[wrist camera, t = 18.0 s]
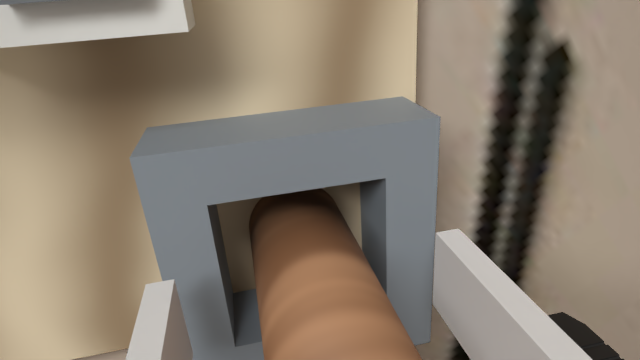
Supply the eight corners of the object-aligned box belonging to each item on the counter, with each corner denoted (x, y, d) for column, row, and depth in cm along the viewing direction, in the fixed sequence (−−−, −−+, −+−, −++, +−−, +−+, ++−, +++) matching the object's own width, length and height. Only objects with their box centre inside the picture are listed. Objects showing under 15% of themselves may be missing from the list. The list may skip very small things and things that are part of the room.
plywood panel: (-128, 381, 17) (-148, 403, 16) (-529, -205, 9) (-608, -226, 9) (403, 278, 20) (411, 291, 19) (408, -206, 13) (422, -222, 12)
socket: (197, 334, 18) (192, 394, 15) (147, 127, 14) (129, 158, 12) (401, 293, 19) (430, 342, 17) (402, 96, 16) (440, 117, 13)
